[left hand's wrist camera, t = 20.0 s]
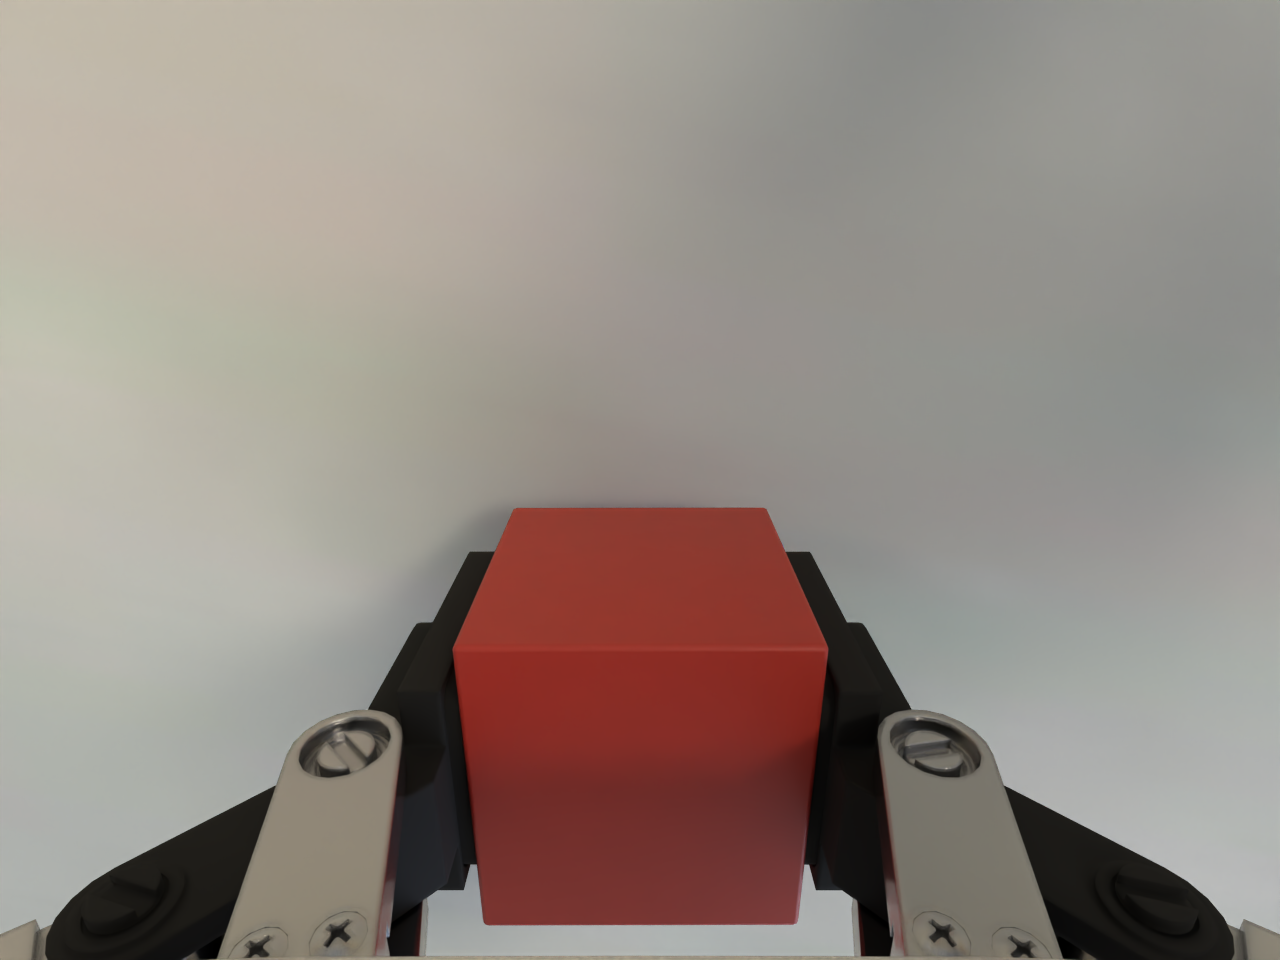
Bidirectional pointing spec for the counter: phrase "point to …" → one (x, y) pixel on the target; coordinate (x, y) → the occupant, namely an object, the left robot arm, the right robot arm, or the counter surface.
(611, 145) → the counter surface
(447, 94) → the counter surface
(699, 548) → the cube
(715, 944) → the counter surface
